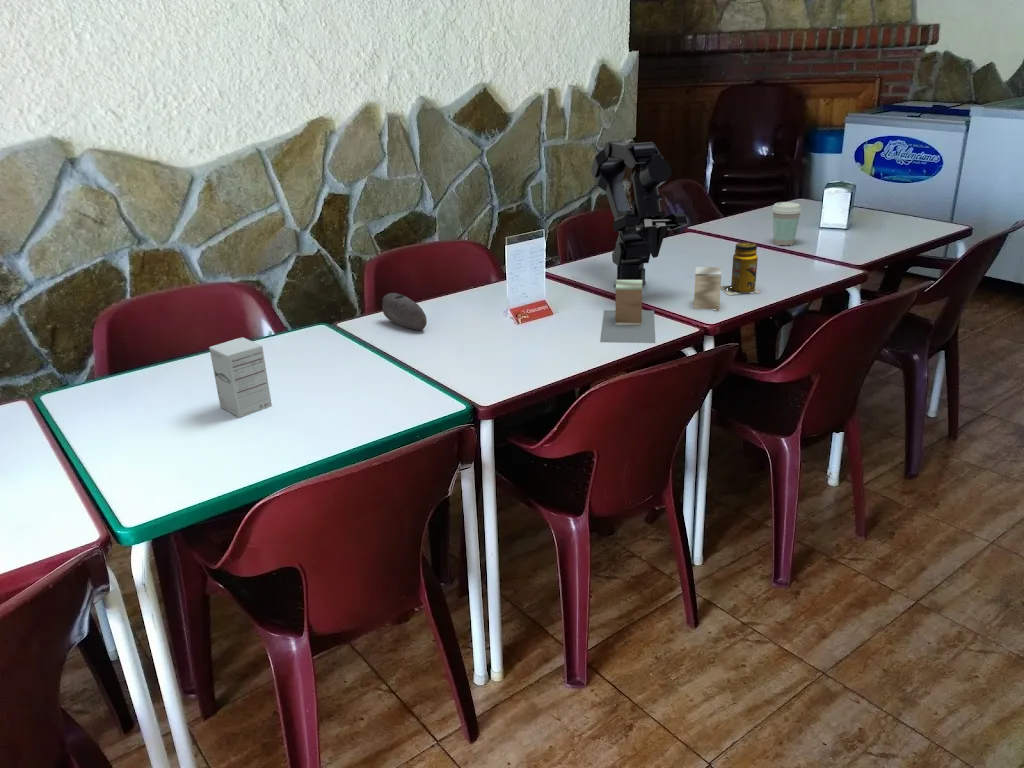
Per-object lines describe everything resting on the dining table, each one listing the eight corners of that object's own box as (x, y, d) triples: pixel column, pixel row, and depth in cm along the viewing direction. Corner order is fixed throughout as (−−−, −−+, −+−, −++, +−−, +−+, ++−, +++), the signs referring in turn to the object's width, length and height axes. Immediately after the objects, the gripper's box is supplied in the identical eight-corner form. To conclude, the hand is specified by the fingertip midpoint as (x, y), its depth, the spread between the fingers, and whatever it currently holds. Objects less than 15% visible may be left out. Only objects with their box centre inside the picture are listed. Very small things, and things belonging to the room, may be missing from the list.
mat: (604, 311, 207) (604, 310, 207) (653, 312, 205) (654, 310, 205) (600, 343, 187) (600, 342, 187) (655, 344, 186) (655, 342, 185)
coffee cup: (779, 239, 265) (783, 200, 261) (804, 243, 259) (807, 204, 255) (763, 244, 260) (766, 204, 256) (787, 248, 254) (791, 208, 250)
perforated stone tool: (434, 331, 199) (432, 302, 197) (416, 336, 196) (413, 307, 194) (400, 316, 210) (397, 289, 207) (381, 321, 207) (378, 294, 204)
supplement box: (219, 407, 163) (207, 346, 158) (254, 395, 168) (243, 335, 163) (238, 418, 159) (226, 355, 154) (273, 406, 163) (263, 344, 158)
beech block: (693, 309, 206) (695, 273, 203) (694, 302, 212) (695, 266, 208) (719, 310, 205) (721, 274, 201) (718, 302, 210) (720, 267, 207)
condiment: (760, 293, 216) (764, 246, 211) (728, 295, 215) (731, 249, 211) (749, 285, 223) (753, 239, 218) (718, 287, 222) (721, 242, 217)
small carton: (616, 316, 202) (616, 279, 199) (641, 316, 202) (642, 279, 198) (615, 324, 197) (615, 287, 193) (641, 325, 196) (642, 287, 193)
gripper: (656, 202, 219) (665, 262, 218) (596, 203, 210) (605, 265, 209) (684, 190, 209) (693, 253, 208) (622, 190, 200) (631, 256, 200)
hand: (655, 257), depth 207 cm, fingers closed
